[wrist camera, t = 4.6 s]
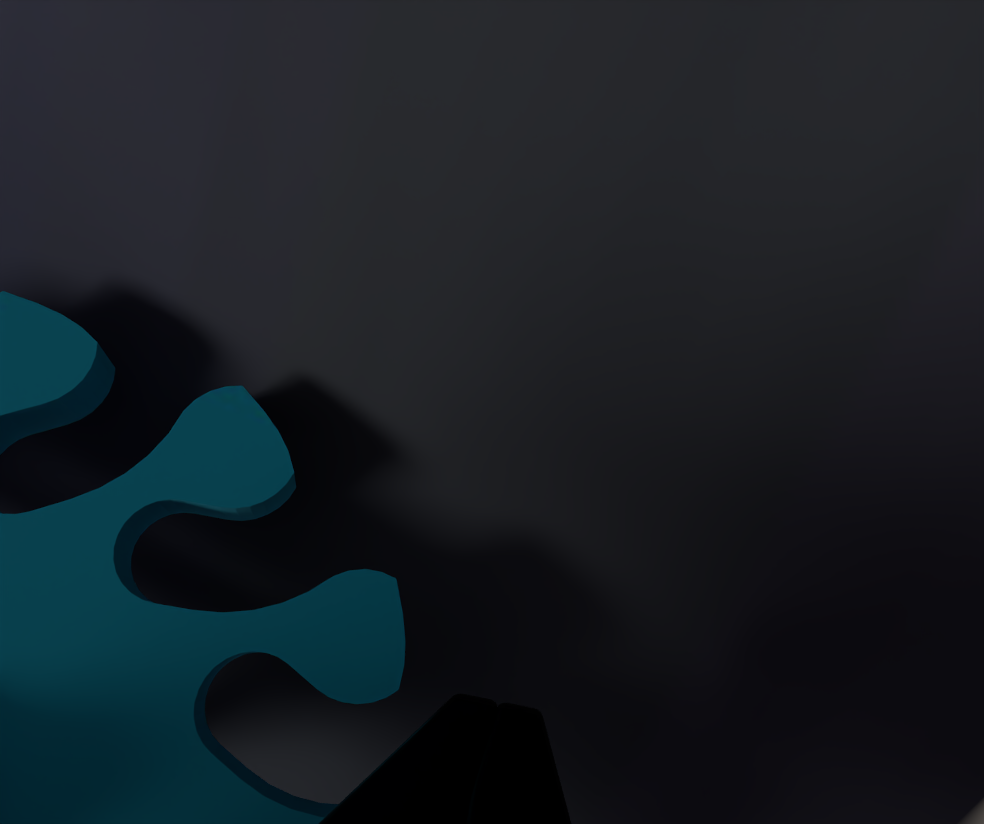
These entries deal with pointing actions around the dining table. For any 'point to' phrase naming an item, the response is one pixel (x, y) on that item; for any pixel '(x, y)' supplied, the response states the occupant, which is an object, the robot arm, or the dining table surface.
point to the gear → (150, 610)
